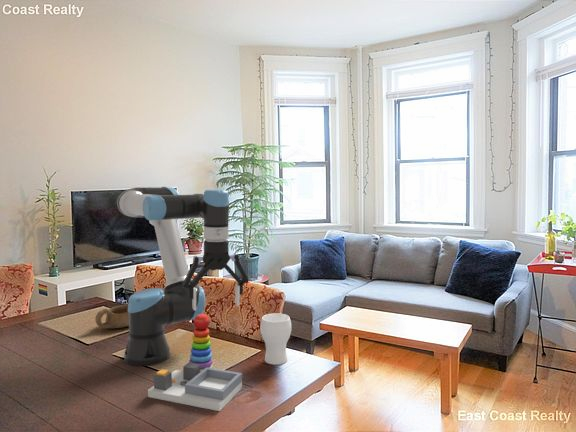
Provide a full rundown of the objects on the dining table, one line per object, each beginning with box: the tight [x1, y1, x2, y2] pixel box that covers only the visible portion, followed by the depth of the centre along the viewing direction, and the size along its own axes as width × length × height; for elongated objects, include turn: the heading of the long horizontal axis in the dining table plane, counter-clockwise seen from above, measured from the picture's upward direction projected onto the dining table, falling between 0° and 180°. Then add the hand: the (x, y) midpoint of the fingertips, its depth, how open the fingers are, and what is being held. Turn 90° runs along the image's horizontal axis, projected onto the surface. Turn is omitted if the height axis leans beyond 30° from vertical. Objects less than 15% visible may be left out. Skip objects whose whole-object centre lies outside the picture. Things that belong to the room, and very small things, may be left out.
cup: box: [259, 312, 292, 365], centre depth 150 cm, size 11×11×15 cm
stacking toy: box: [188, 313, 214, 372], centre depth 141 cm, size 8×8×19 cm
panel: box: [147, 369, 243, 412], centre depth 128 cm, size 23×14×2 cm, turn 71°
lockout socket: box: [185, 367, 243, 400], centre depth 127 cm, size 12×12×2 cm
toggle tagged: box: [153, 368, 173, 390], centre depth 126 cm, size 4×3×5 cm
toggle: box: [182, 362, 200, 381], centre depth 132 cm, size 4×3×4 cm
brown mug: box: [94, 303, 129, 329], centre depth 183 cm, size 18×14×10 cm
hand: (216, 306), depth 137 cm, fingers open, 13 cm apart
